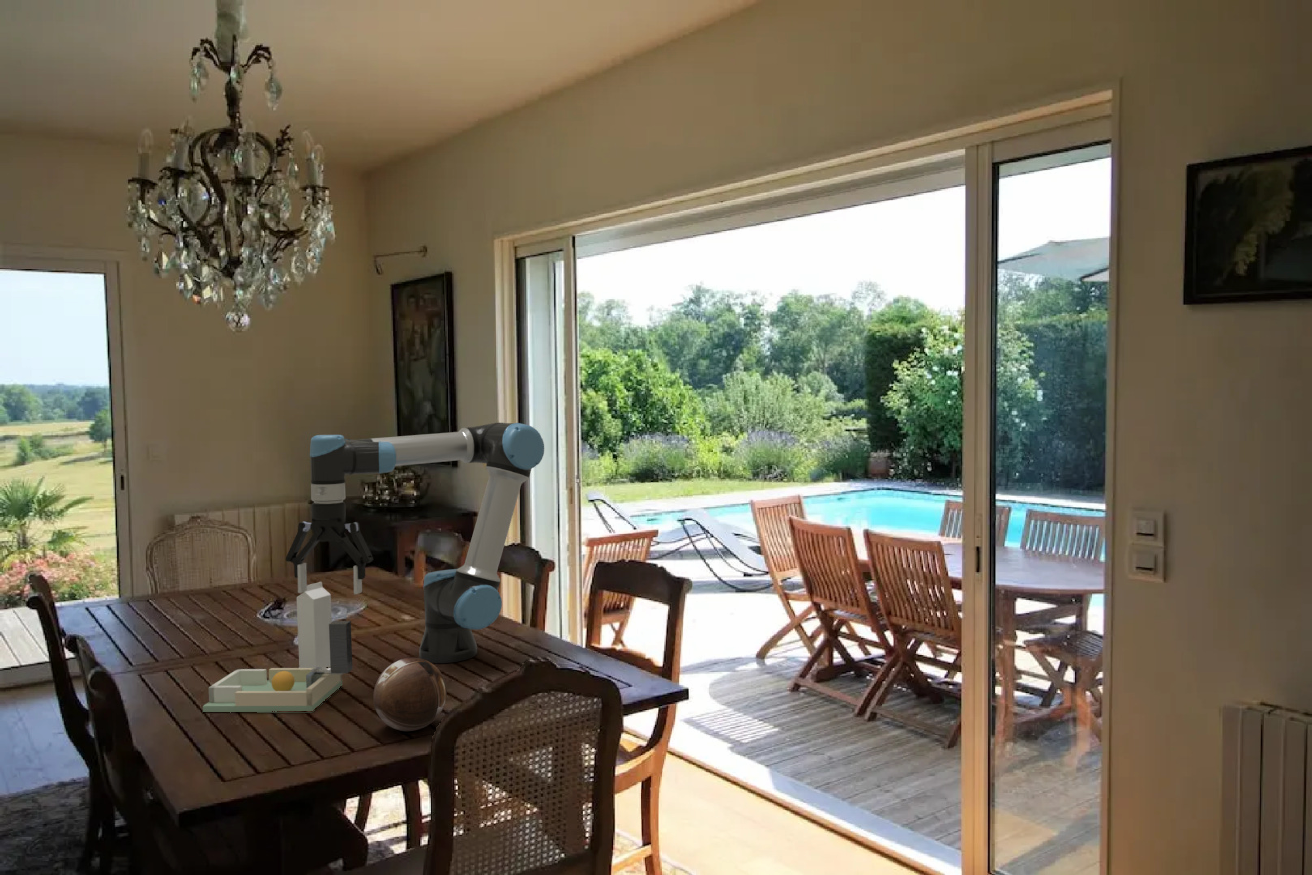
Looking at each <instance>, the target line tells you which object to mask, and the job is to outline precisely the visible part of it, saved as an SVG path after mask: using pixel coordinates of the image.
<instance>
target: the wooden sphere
mask: <svg viewBox="0 0 1312 875" xmlns="http://www.w3.org/2000/svg"><path fill="white" fill-rule="evenodd" d="M447 691H448V690H447V683H446V679H445V677H444V675H443V674H442V672H441V670H440V669H439V668H438V667H437V666H436V665H435V664H434V663H431V662H429V661H426V660H424V659H420V657H405V658H401V659H399V660H397V661H396V660H395V661H394V662H393V663H391V664H389V665H388V666H387V667H386V668H385V669H384V670H383V671H382V672H381V673H380V675H379V676H378V678H377V680H376V682H375V685H374V688H373V695H372V696H373V698H372V699H373V705H374V708H375V711H376V713H377V715H378V717H379V718H380V719H381V721H382V722H383V723H385V724H386V725H387V726H389V727H390V728H392V729H394V730H397V731H400V732H414V731H418V730H421V729H423V728H426V727H428V726H429V725H430V724H432V723H433V722H435V720H437V718H438V717H439V716H440V714H441V713H442V711H443V709H444V707H445V704H446V700H447V694H448V692H447Z"/></svg>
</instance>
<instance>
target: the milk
mask: <svg viewBox="0 0 1312 875" xmlns="http://www.w3.org/2000/svg"><path fill="white" fill-rule="evenodd" d="M331 595H332V594H331V593H330V592H329V591H328V590H327V589H325V588H324V587H323V582H322V581H319V582H316V583H314V582H313V583H311V584H307V591H304V592H302V593H300V595H298V596H296V615H297V616H296V618H297V639H298V640H297V641H298V645H297V646H298V662H299V663H298V668H316V667H321V668H326V667H328V668H331V666H330V640H329V624H330V623H332V622H333V620H332V619H333V617H332V616H333V615H332V596H331Z"/></svg>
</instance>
